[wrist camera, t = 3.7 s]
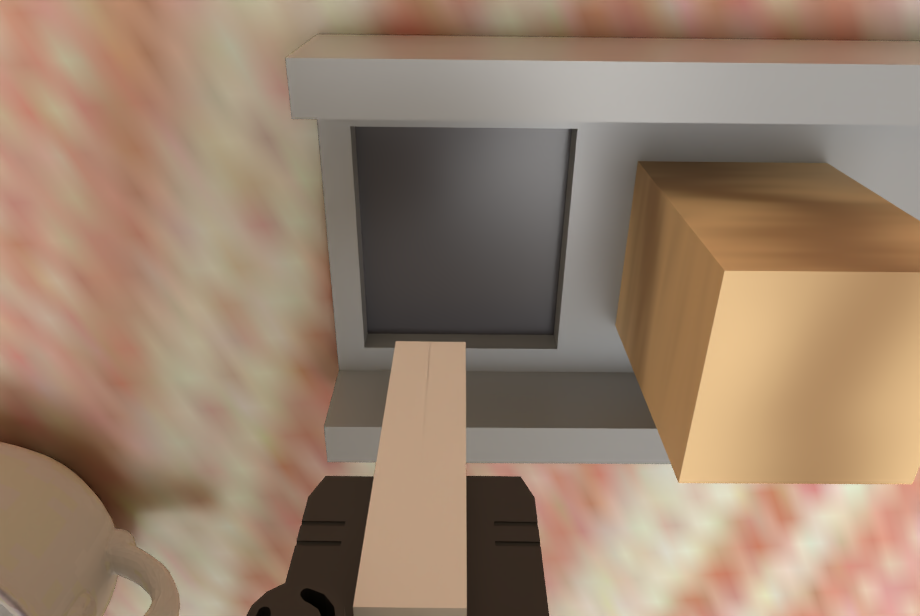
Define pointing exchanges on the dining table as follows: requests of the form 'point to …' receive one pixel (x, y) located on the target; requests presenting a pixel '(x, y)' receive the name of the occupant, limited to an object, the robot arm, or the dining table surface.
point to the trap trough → (552, 204)
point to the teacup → (65, 545)
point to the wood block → (774, 323)
